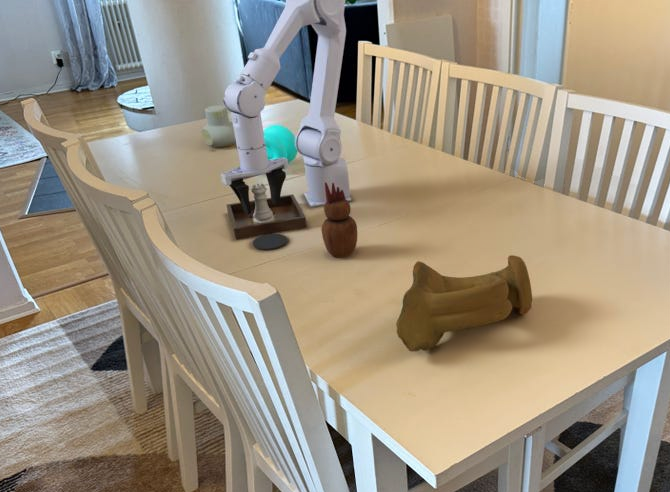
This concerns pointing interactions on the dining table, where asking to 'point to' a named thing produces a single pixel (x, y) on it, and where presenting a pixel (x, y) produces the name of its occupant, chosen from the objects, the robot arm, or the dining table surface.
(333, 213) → the wooden figurine
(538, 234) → the dining table surface
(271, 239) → the coaster
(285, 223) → the tray
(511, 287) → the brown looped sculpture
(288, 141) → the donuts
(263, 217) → the rook chess piece
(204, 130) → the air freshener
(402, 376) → the dining table surface
